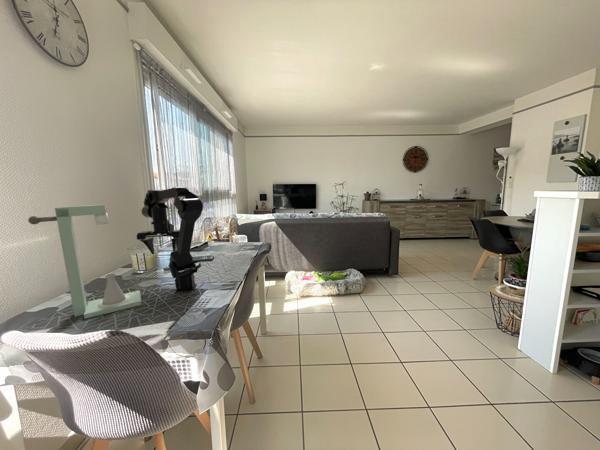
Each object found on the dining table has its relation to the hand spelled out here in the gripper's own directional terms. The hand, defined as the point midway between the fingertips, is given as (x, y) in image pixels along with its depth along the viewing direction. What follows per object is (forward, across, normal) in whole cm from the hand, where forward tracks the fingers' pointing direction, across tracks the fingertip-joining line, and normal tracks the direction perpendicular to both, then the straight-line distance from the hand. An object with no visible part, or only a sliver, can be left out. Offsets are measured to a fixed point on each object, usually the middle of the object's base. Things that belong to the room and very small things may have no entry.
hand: (164, 253), depth 113 cm
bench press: (+13, +13, +24) cm, 31 cm away
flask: (+12, +9, +22) cm, 26 cm away
